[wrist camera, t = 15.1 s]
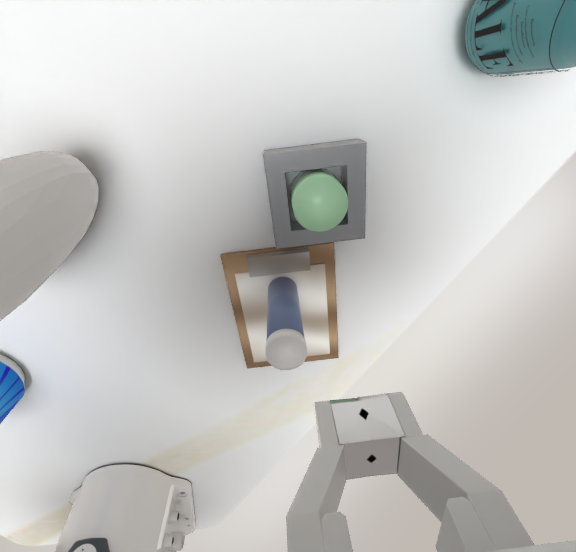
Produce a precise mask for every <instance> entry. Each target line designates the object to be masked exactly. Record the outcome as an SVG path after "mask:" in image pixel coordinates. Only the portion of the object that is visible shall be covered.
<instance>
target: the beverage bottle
mask: <svg viewBox="0 0 576 552" xmlns="http://www.w3.org/2000/svg"><path fill="white" fill-rule="evenodd" d="M465 42H466V49H467V52H468V55H469V57H470V59H471V60H472V62H473V63H474V64H475V66H476V67H477V68H478V69H479V70H480V69H481V70H482V71H485V72H487V73H489V74H497V75H498V74H510V73H511V74H510V75H509V76H511V75H512V73H521V72H529V73H527V74H528V75H529V74H531V73H532V71H543V70H556V69H564V68H571V67H575V66H576V0H475V2H474V3H473V6H472V8H471V10H470V13H469V16H468V19H467V24H466V30H465ZM481 70H480V71H481ZM556 71H558V70H556ZM560 71H564V70H560ZM560 71H558V72H560ZM549 72H553V71H549ZM565 72H566V71H565ZM483 73H484V72H483ZM538 73H541V74H542V72H538ZM554 73H555V72H554ZM485 74H486V73H485ZM536 74H537V73H536ZM487 75H488V74H487ZM515 75H516V74H515ZM515 75H513V76H515ZM518 75H520V74H517V75H516V76H518ZM490 76H491V75H490ZM504 76H507V75H504ZM504 76H502V77H504ZM495 77H496V76H495ZM500 77H501V75H500Z"/></svg>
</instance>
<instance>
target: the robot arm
mask: <svg viewBox="0 0 576 552" xmlns="http://www.w3.org/2000/svg"><path fill="white" fill-rule="evenodd" d="M315 413H316V424H317V432H318V441H319V447H320V448H317V450H316V452H315V454H314V457H313V459H312V461H311V463H310V465H309V468H308V470H307V472H306V474H305V476H304V479H303V481H302V483H301V486H300V487H299V490H298V492H297V494H296V496H295V498H294V501H293V503H292V505H291V507H290V509H289V512H288V514H287V516H286V521H287V545H288V552H353V550H352V546H351V540H350V535H349V531H348V526H347V520H346V516H345V515H343V514H342V513H341V512H337V509H338V506H339V502H340V499H341V496H342V493H343V489H344V486H345V483H346V480H347V479H354V478H361V477H366V476H375V475H386V474H398V476H399V477H400V478H401V479H402V480H403V481H404V483H405V484H406V485H407V486H408V487H409V488H410V489H411V490H412V491H413V492H414V493H415V494H416V495H417V497H418V498H419V499H420V500H421V501H422V502H423V503H424V504H425V505H426V506H427V507H428V508H429V510H430V511H431V512H432V513H433V514H434V515H435V516H436V517H437V518H438V519H439V520H440V521H441V522H442V524H441V528H440V532H439V536H438V540H437V544H436V549H437V552H576V540H574V541H565V542H558V543H549V544H541V545H534V543H533V541H532V540H531V538H530V537H529V535H528V533H527V532H526V530H525V528H524V527H523V525H522V524H521V522H520V520H519V519H518V517H517V515H516V514H515V512H514V510H513V509H512V507H511V506H510V504H509V502H508V501H507V499H506V498H505V496H504V494H503V492H502V491H501V490H500V489H498V488H497V487H496V486H494V485H493V484H492V483H491V482H489V481H488V480H486V479H485V478H484V477H482V476H481V475H480V474H479V473H477V472H476V471H475V470H474V469H472V468H471V467H470V466H468V465H467V464H466V463H464V462H463V461H462V460H460V459H459V458H458V457H457V456H455V455H454V454H453V453H451V452H450V451H449V450H447V449H446V448H445V447H443V446H442V445H441V444H439V443H438V442H437V441H435V440H434V439H433V438H431V437H430V436H429V435H423V434H422V431H421V429H420V428H419V425H418V423H417V421H416V419H415V417H414V415H413V413H412V411H411V409H410V407H409V405H408V403H407V400H406V398H405V396H404V394H403V393H401V392H397V393H388V394H378V395H371V396H363V397H358V398H352V399H340V400H330V401H321V402H315ZM69 502H70V503H71V504H72V505H73V506H72V508H71V511H70V513H69V516H68V518H67V521H66V524H65V526H64V529H63V531H62V534H61V536H60V539H59V541H58V544H57V547H56V549H55V552H176V551H177V550H178V551H179V550H182V548H183V544H184V537H185V535H187V534H189V533H191V532H193V531H194V529H195V524H196V523H195V514H194V505H193V496H192V487H191V483H190V482H189V481H187V480H184V479H180V478H175V477H171V476H168V475H166V474H164V473H162V472H160V471H158V470H155V469H152V468H148V467H144V466H139V465H128V464H121V465H110V466H106V467H102V468H99V469H96V470H94V471H92V472H91V473H89V474H88V475H87V476H86V477H85V479H84V481H83V484H82V486H81V487H80V488H79V489H77V490H76V491H74V492H73V493H72V495H71V498H70V500H69Z"/></svg>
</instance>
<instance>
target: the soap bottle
mask: <svg viewBox="0 0 576 552" xmlns="http://www.w3.org/2000/svg"><path fill="white" fill-rule="evenodd" d="M98 197H99V187H98V184H97V180H96V178H95V177H94V176H93V174H92V173H91V172H90V171H89V169H88V168H87V167H86V166H85V165H84V164H83V163H82V162H81V161H79V160H78V159H77V158H75V157H73V156H71V155H70V154H66V153H61V152H35V153H30V154H25V155H20V156H16V157H11V158H6V159H1V160H0V321H1V320H2V319H3V318H5V317H6V316H7V315H8V314H10V313H11V312H12V311H13V310H15V309H16V308H17V307H18V306H20V305H21V304H22V303H23V302H25V301H26V300H27V299H28V298H29V297H30V296H31V295H32V294H33V293H34V292H35V291H36V290H37V289H38V288H39V287H40V286H41V285H42V284H43V283H44V282H45V281H46V280H47V279H48V278H49V277H50V276H51V274H52V273H53V272H54V271H55V270H56V269H57V268H58V267H59V266H60V265H61V264H62V263H63V262H64V261H65V260H66V258H67V257H68V256H69V255H70V253H71V252H72V251H73V249H74V248H75V247H76V246H77V244H78V243H79V242H80V240H81V239H82V237H83V236H84V235H85V233H86V232H87V230H88V228H89V226H90V224H91V221H92V219H93V217H94V214H95V211H96V208H97V204H98Z"/></svg>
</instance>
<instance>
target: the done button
mask: <svg viewBox="0 0 576 552" xmlns="http://www.w3.org/2000/svg"><path fill="white" fill-rule="evenodd" d="M290 197H291V202H292V207H293V212H294V215H295V218H296V219H297V221H298V222H299V223H300V224H301V225H302V226H303V227H304V228H306V229H308V230H311V231H316V232H322V231H327V230H330V229H332V228H334V227H335V226H337V225H338V224H339V223H340V222H341V221H342V220H343V218H344V217H345V215H346V212H347V209H348V196H347V193H346V191H345V189H344V188H343V186H342V185H341V184H340V182H339V181H338V180H337V179H336V178H335V176H334V175H333V174H332V173H331V172H329V171H328V170H326V169H323V168H319V169H310V170H304V171H303V172H301V173H300V174H299V175H298V176H297V177H296V178H295V179H294V181H293V183H292V186H291V190H290Z"/></svg>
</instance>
